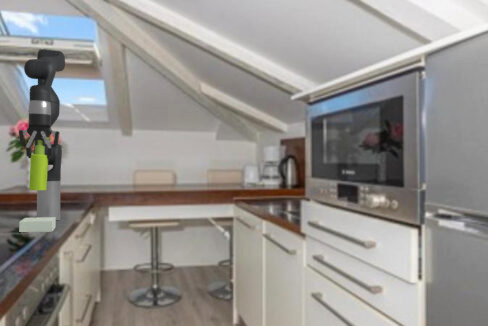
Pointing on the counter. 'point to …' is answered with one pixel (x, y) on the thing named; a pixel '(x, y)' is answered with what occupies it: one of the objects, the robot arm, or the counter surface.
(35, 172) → the soap dispenser
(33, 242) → the counter surface
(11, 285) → the counter surface
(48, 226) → the plate
